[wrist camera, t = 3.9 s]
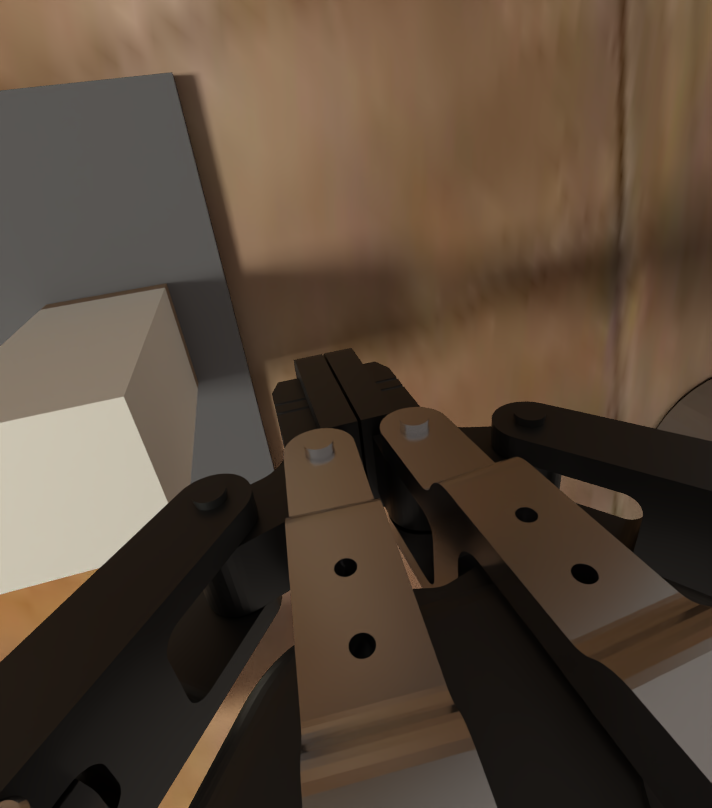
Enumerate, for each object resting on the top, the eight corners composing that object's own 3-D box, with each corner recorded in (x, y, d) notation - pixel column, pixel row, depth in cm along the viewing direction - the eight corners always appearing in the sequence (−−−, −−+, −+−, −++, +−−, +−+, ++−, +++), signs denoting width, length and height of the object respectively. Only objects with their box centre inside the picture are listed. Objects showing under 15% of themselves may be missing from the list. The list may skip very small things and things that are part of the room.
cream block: (166, 282, 17) (123, 396, 9) (198, 382, 19) (185, 544, 11) (46, 304, 16) (-111, 446, 8) (92, 405, 18) (-1, 594, 10)
